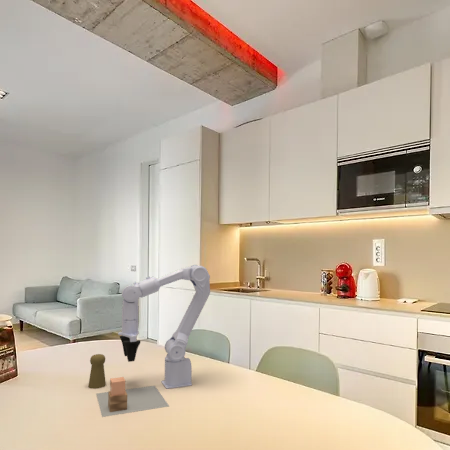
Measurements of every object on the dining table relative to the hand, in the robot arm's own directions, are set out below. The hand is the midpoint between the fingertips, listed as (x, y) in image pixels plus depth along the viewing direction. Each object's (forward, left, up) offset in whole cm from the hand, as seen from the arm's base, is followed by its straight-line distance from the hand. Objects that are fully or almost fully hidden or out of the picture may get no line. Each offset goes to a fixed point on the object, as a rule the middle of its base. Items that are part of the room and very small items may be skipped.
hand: (129, 358), depth 135 cm
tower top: (+6, +16, -8) cm, 19 cm away
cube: (+6, +16, -6) cm, 18 cm away
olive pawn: (+10, -7, -11) cm, 16 cm away
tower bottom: (+6, +16, -10) cm, 20 cm away
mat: (+1, +11, -10) cm, 15 cm away
